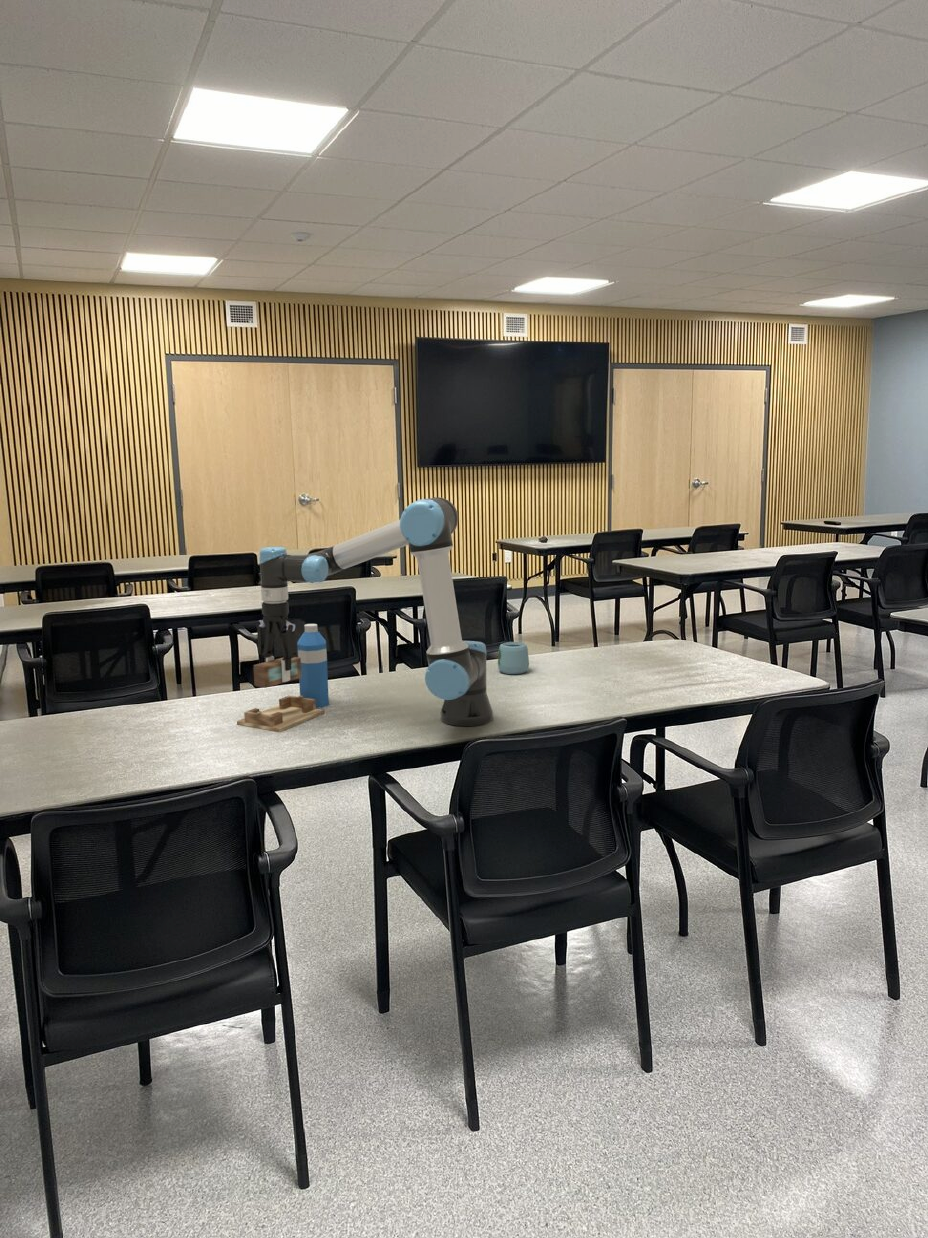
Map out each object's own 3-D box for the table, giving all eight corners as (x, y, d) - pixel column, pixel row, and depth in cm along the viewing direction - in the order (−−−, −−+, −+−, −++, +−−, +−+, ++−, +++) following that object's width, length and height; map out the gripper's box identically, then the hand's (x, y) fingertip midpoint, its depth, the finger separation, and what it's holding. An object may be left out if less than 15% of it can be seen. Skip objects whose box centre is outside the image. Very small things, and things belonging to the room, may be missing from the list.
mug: (494, 666, 324) (493, 639, 322) (524, 664, 325) (524, 637, 324) (500, 676, 310) (500, 648, 308) (531, 675, 311) (531, 646, 309)
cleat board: (324, 713, 269) (323, 698, 268) (280, 732, 252) (279, 716, 251) (282, 706, 276) (281, 692, 275) (236, 724, 259) (236, 709, 258)
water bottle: (323, 708, 274) (319, 628, 269) (294, 707, 275) (290, 627, 271) (333, 700, 283) (330, 622, 278) (305, 699, 284) (302, 621, 280)
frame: (290, 675, 269) (289, 655, 268) (301, 677, 266) (300, 657, 265) (254, 685, 258) (253, 665, 256) (265, 687, 255) (264, 667, 254)
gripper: (241, 600, 258) (246, 679, 263) (291, 605, 250) (294, 686, 254) (259, 596, 265) (263, 673, 269) (308, 601, 256) (311, 680, 261)
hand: (278, 679), depth 262 cm, fingers closed on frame, 5 cm apart
